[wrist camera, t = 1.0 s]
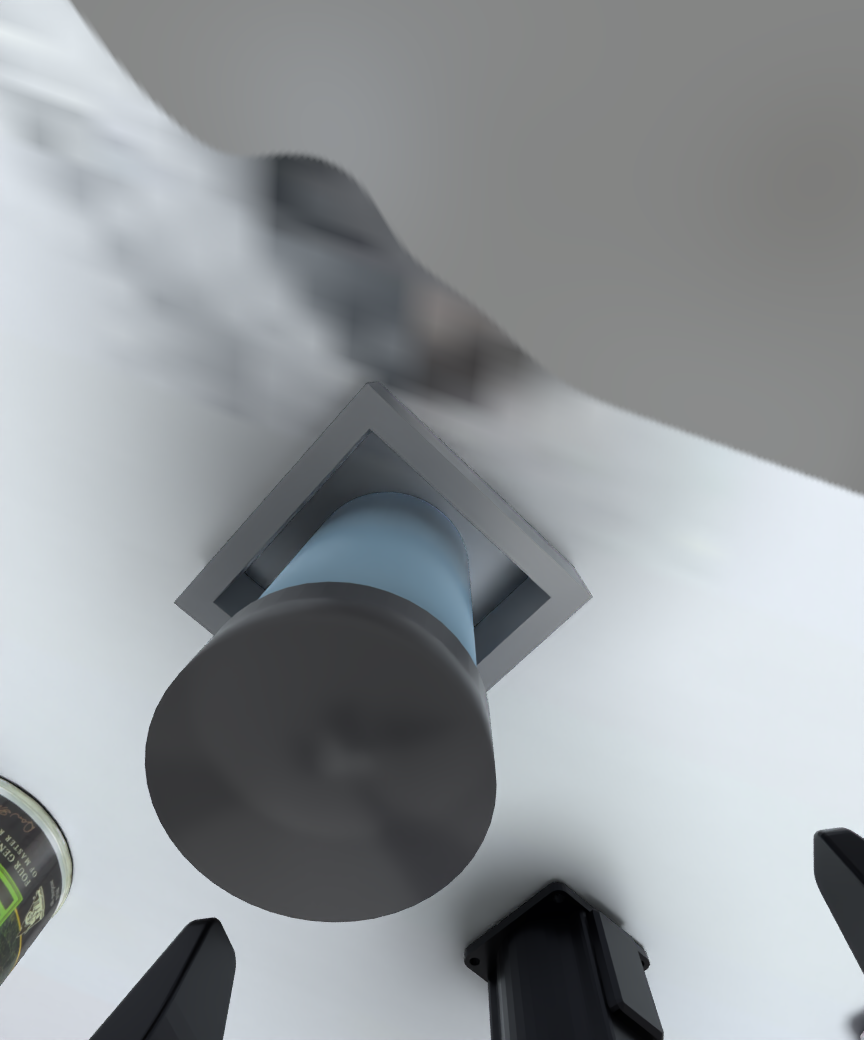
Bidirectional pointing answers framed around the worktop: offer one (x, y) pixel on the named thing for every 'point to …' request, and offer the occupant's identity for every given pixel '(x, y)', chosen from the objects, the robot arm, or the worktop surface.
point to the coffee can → (28, 873)
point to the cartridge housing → (376, 409)
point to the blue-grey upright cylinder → (336, 726)
